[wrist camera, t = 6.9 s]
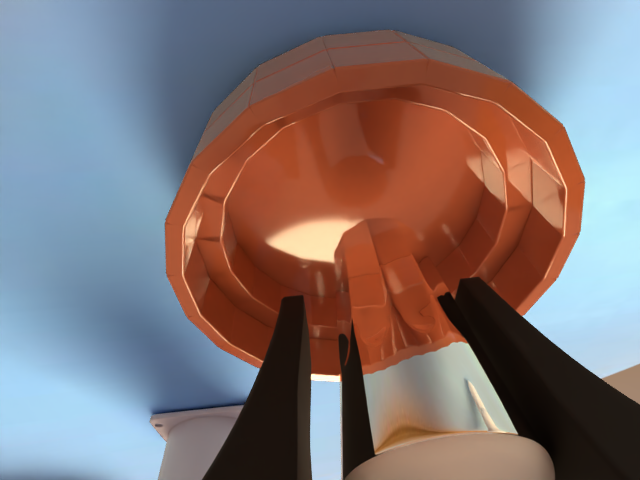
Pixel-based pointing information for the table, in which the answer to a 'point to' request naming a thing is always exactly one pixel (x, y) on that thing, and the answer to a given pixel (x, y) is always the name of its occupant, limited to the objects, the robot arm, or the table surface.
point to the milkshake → (418, 372)
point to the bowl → (366, 185)
